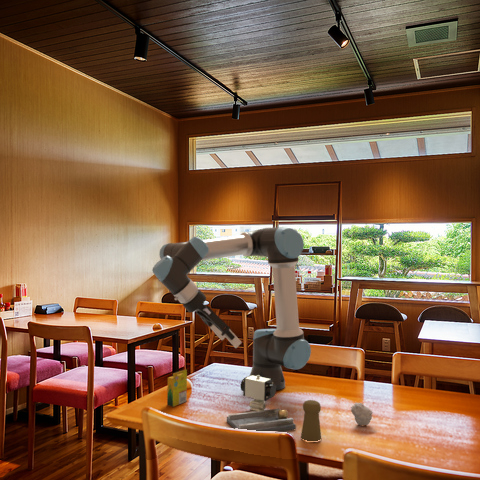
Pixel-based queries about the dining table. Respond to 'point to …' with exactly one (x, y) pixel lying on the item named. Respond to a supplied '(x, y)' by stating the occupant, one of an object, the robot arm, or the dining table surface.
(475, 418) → the dining table surface
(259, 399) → the pneumatic valve
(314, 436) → the olive pepper shaker
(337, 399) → the dining table surface
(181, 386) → the crayon box
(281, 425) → the grey tray
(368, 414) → the gray rock
